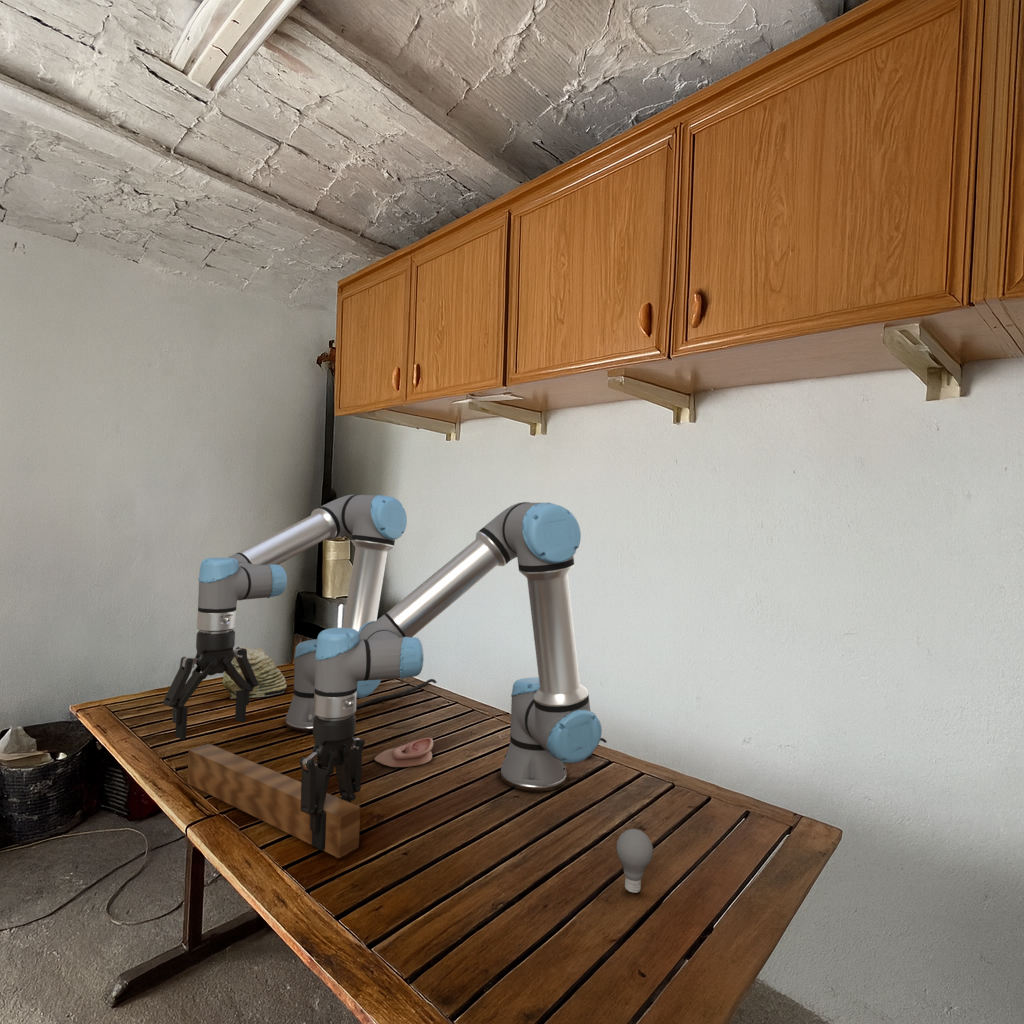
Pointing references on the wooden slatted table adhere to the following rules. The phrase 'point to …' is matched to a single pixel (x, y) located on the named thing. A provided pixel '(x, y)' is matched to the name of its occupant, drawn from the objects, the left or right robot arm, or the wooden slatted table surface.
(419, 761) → the beige rounded piece
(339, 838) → the beam
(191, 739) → the wooden slatted table surface
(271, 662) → the fossil
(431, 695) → the wooden slatted table surface
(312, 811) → the right robot arm
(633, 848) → the light bulb
